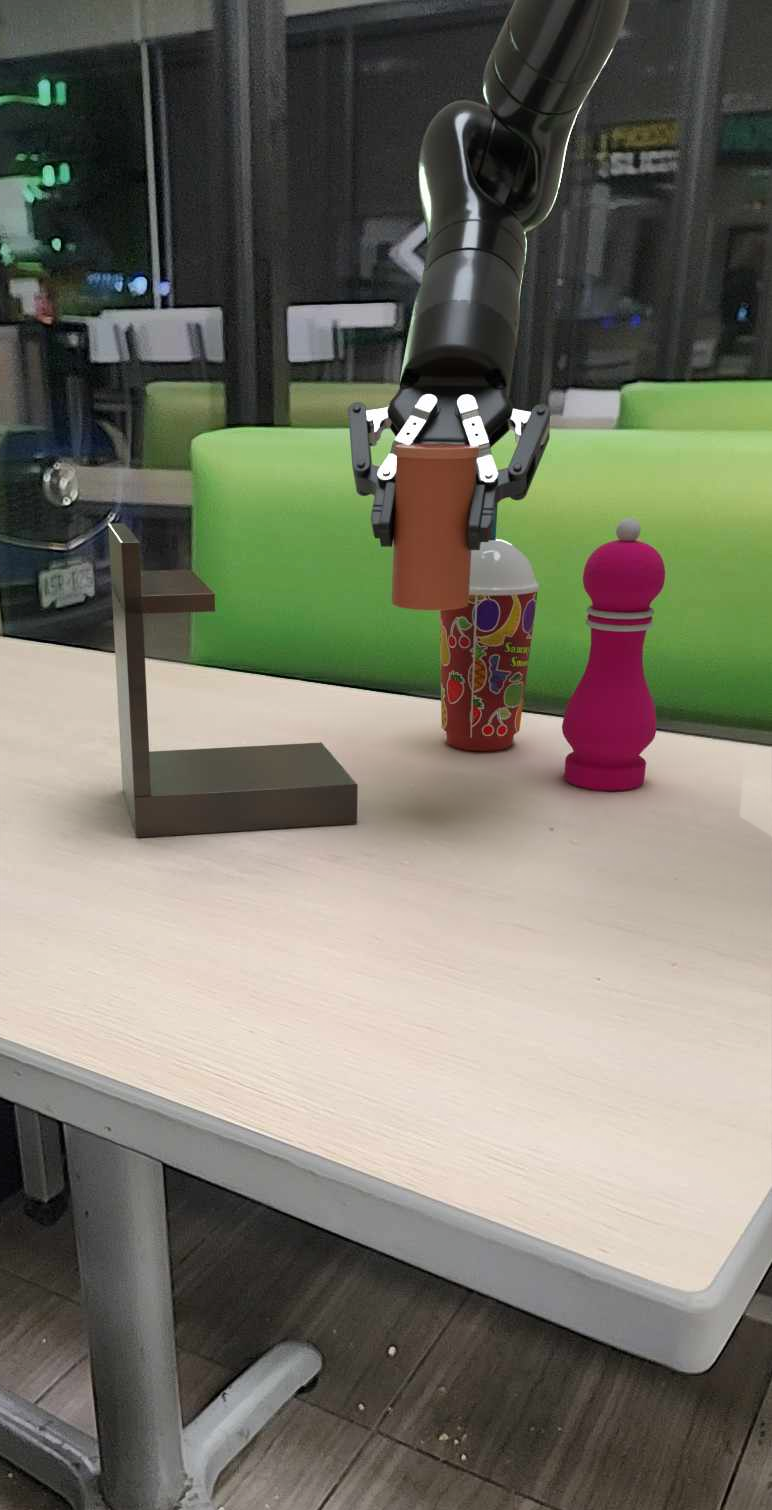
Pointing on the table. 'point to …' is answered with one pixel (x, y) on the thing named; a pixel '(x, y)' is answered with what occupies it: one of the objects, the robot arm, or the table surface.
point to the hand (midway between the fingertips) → (429, 539)
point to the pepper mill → (615, 667)
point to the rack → (211, 780)
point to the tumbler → (432, 525)
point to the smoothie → (488, 649)
